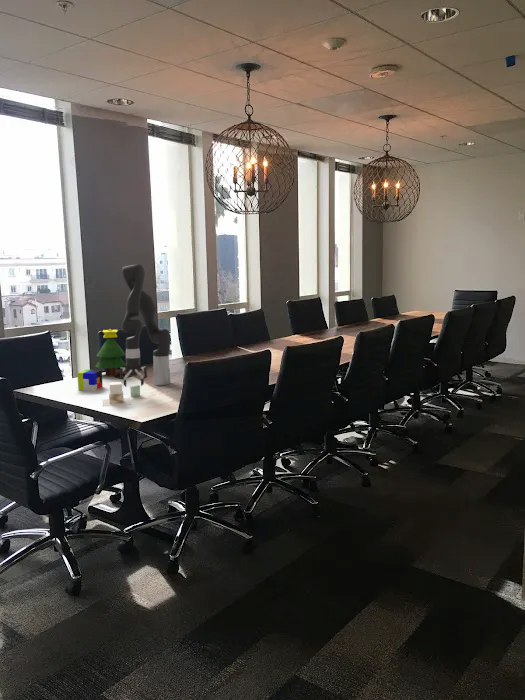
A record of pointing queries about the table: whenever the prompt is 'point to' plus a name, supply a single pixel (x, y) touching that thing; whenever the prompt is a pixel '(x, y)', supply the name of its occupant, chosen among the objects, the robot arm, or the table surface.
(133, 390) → the pale green block
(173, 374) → the table surface
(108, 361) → the decorative tree
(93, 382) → the puzzle toy
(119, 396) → the tower base
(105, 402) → the felt mat
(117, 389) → the tower mid
